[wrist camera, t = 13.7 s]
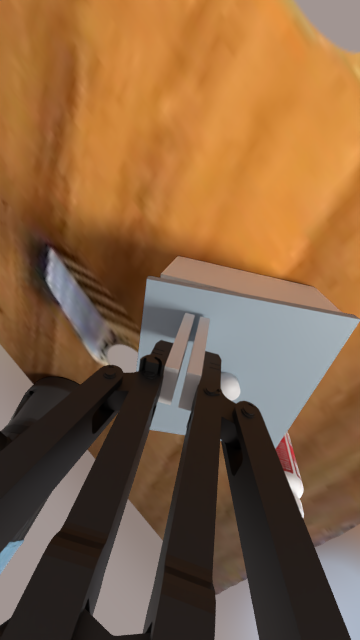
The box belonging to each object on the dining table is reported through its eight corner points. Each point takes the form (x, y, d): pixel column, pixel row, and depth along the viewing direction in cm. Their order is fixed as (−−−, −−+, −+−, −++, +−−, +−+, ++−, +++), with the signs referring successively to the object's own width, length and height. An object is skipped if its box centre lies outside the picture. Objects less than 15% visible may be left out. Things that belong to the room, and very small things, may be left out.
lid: (131, 420, 25) (126, 436, 23) (148, 275, 17) (143, 284, 15) (272, 442, 26) (278, 460, 24) (353, 314, 18) (371, 327, 16)
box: (159, 360, 34) (142, 400, 27) (178, 255, 26) (160, 273, 19) (263, 388, 33) (274, 437, 26) (314, 287, 25) (348, 318, 18)
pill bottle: (240, 431, 38) (246, 508, 28) (268, 414, 35) (285, 494, 25) (267, 450, 39) (281, 531, 29) (297, 435, 36) (323, 519, 26)
